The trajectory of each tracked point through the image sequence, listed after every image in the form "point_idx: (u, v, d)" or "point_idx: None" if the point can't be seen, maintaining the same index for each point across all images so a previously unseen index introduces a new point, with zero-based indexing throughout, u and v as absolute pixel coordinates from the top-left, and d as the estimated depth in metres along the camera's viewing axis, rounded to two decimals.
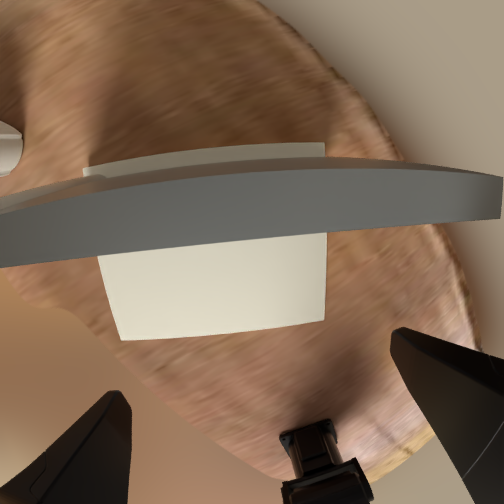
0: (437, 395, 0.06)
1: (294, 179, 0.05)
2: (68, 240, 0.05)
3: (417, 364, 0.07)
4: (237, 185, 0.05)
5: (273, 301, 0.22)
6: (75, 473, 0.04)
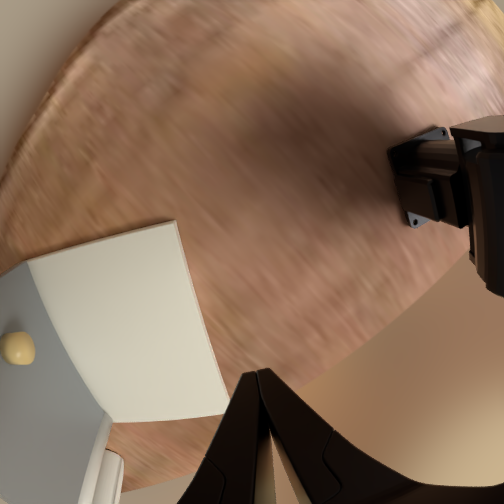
0: (280, 453, 0.06)
1: None
2: None
3: (266, 414, 0.07)
4: None
5: (155, 291, 0.19)
6: None
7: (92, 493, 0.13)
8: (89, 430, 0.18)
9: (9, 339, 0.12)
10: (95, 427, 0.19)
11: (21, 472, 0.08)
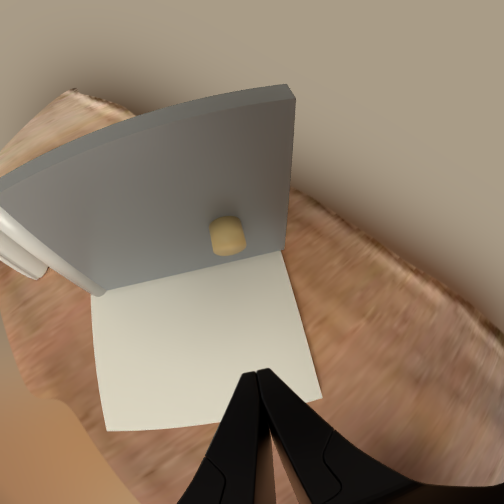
0: (281, 453, 0.06)
1: (141, 116, 0.11)
2: (53, 159, 0.10)
3: (266, 414, 0.07)
4: (120, 124, 0.11)
5: None
6: None
7: (33, 253, 0.14)
8: (98, 273, 0.20)
9: (241, 231, 0.17)
10: (98, 279, 0.20)
11: (100, 189, 0.12)
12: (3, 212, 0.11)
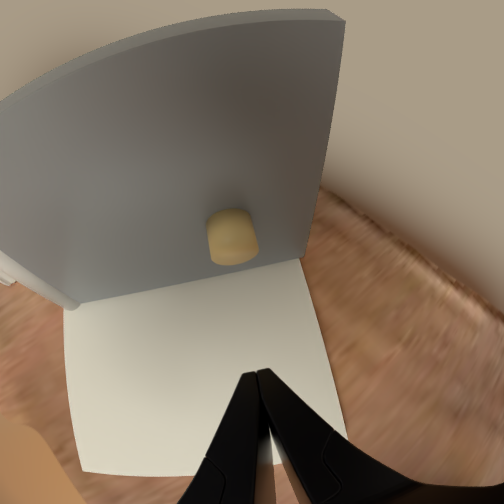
0: (280, 453, 0.06)
1: (104, 47, 0.06)
2: None
3: (266, 414, 0.07)
4: (72, 62, 0.06)
5: None
6: None
7: None
8: (66, 283, 0.14)
9: (252, 231, 0.12)
10: (67, 290, 0.15)
11: (45, 163, 0.07)
12: None
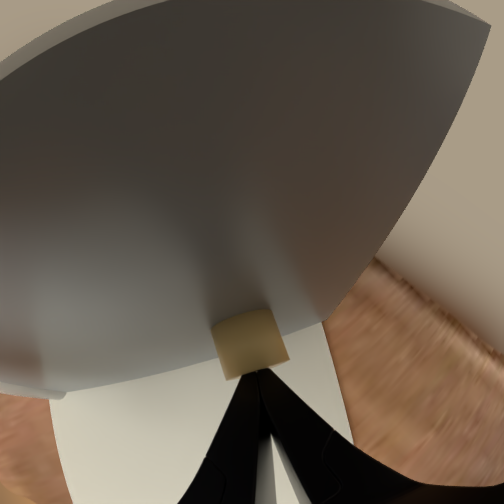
0: (280, 453, 0.06)
1: None
2: None
3: (266, 414, 0.07)
4: None
5: None
6: None
7: None
8: (44, 385, 0.10)
9: (280, 340, 0.08)
10: (47, 387, 0.11)
11: None
12: None
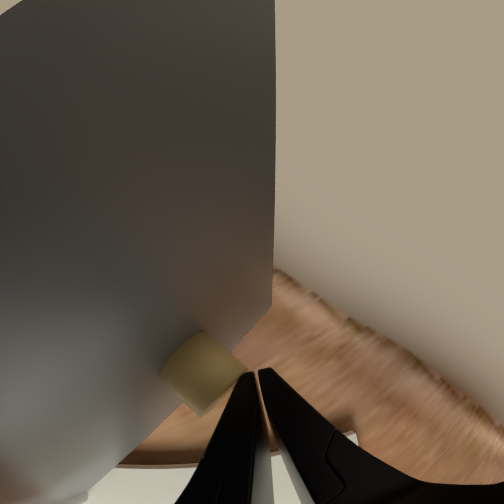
0: (282, 453, 0.06)
1: None
2: None
3: (267, 414, 0.07)
4: None
5: None
6: None
7: None
8: (63, 496, 0.07)
9: (227, 355, 0.08)
10: (68, 496, 0.08)
11: None
12: None
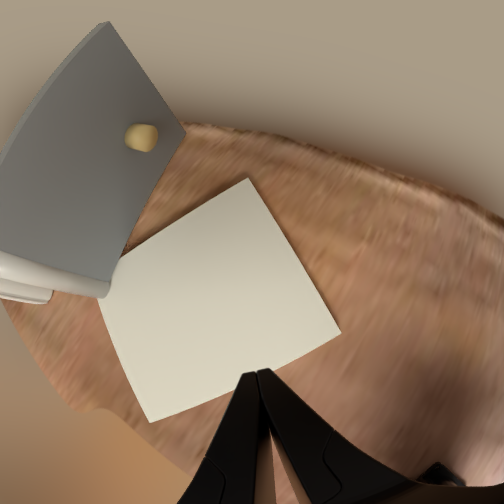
0: (281, 453, 0.06)
1: (37, 95, 0.11)
2: None
3: (266, 414, 0.07)
4: (27, 109, 0.11)
5: (272, 333, 0.20)
6: None
7: (30, 277, 0.15)
8: (89, 262, 0.20)
9: (146, 124, 0.19)
10: (93, 272, 0.21)
11: (41, 160, 0.13)
12: None
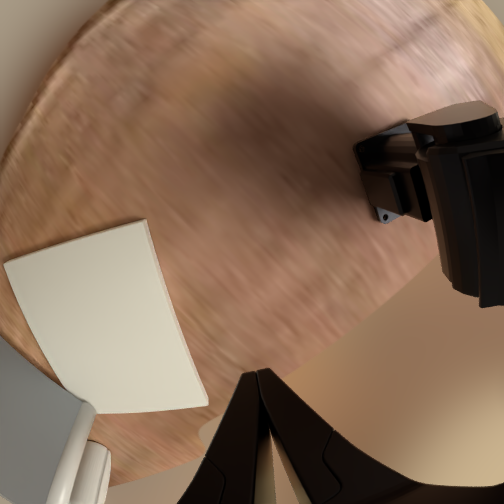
0: (280, 453, 0.06)
1: None
2: None
3: (266, 414, 0.07)
4: None
5: (128, 286, 0.19)
6: None
7: (68, 475, 0.14)
8: (62, 418, 0.18)
9: None
10: (71, 415, 0.19)
11: None
12: None
